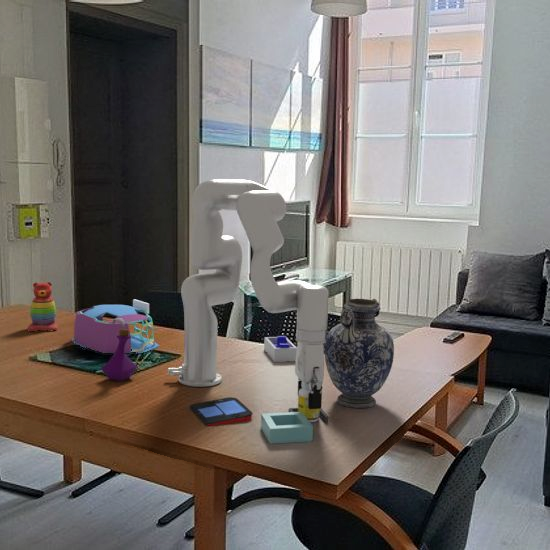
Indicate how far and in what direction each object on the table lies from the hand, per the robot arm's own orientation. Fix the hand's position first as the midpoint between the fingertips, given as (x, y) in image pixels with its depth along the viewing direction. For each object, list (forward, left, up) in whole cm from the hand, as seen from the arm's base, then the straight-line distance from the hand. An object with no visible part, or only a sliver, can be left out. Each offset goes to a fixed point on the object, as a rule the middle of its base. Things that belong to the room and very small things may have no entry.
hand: (309, 402), depth 169 cm
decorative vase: (+16, +11, -5) cm, 20 cm away
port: (-8, -9, -4) cm, 13 cm away
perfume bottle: (-46, +40, -5) cm, 61 cm away
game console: (-21, +7, -5) cm, 23 cm away
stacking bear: (-74, +108, -5) cm, 131 cm away
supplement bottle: (0, 0, -5) cm, 5 cm away
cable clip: (+7, +59, -5) cm, 59 cm away
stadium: (-48, +82, -5) cm, 95 cm away
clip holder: (+7, +60, -4) cm, 61 cm away
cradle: (0, 0, -4) cm, 4 cm away
